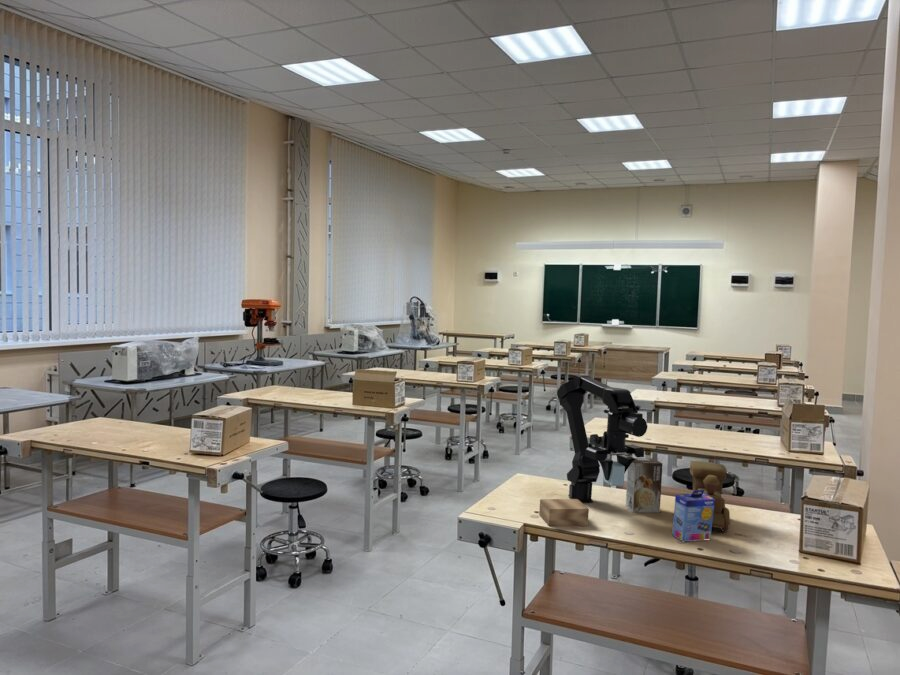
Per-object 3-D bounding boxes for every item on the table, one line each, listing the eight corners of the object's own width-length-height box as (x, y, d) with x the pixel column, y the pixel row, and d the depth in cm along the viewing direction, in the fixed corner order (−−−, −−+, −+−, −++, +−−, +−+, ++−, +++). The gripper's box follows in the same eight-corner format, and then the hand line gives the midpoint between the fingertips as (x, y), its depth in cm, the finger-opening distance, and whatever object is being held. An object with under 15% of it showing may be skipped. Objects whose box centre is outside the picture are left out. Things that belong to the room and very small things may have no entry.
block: (615, 480, 196) (616, 461, 195) (623, 485, 190) (624, 466, 189) (603, 480, 195) (604, 461, 195) (611, 485, 189) (612, 466, 189)
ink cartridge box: (683, 543, 173) (687, 491, 172) (670, 535, 178) (674, 485, 177) (712, 540, 176) (716, 490, 175) (699, 533, 181) (703, 484, 180)
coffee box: (651, 506, 204) (655, 458, 203) (660, 513, 197) (663, 463, 197) (624, 505, 203) (628, 457, 202) (632, 512, 196) (635, 462, 196)
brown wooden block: (576, 514, 192) (577, 498, 191) (587, 525, 183) (588, 508, 183) (539, 515, 190) (540, 499, 189) (548, 526, 181) (549, 509, 181)
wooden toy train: (684, 509, 202) (687, 459, 201) (721, 515, 199) (725, 463, 198) (688, 530, 183) (692, 475, 182) (730, 536, 180) (735, 480, 179)
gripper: (623, 423, 203) (620, 470, 204) (575, 425, 195) (572, 474, 196) (647, 430, 192) (643, 480, 193) (598, 433, 185) (595, 484, 186)
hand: (613, 479), depth 192 cm, fingers closed on block, 5 cm apart
